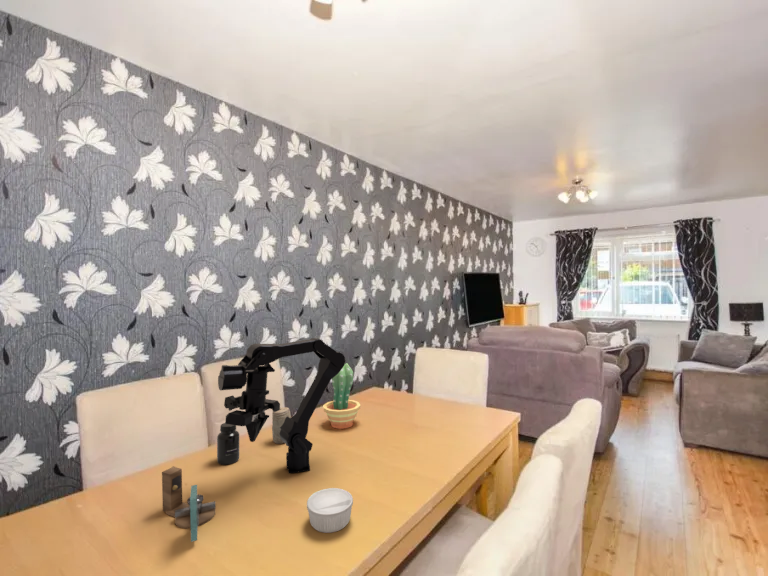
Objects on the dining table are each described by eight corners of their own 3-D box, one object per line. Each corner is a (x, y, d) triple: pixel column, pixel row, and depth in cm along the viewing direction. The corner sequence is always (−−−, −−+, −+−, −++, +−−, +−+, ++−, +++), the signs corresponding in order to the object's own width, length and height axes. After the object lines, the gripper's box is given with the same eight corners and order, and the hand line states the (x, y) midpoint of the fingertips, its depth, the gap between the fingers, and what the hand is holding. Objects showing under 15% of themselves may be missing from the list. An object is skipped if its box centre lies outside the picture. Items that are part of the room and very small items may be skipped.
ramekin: (333, 542, 86) (333, 519, 86) (297, 526, 92) (296, 504, 91) (362, 516, 95) (362, 495, 95) (327, 503, 101) (327, 483, 101)
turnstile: (215, 498, 102) (214, 463, 102) (216, 535, 87) (215, 494, 87) (176, 507, 98) (175, 470, 98) (170, 547, 83) (169, 504, 83)
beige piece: (268, 444, 139) (268, 411, 138) (279, 436, 146) (278, 405, 146) (284, 446, 137) (284, 412, 137) (294, 437, 144) (293, 406, 144)
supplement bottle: (231, 466, 122) (231, 428, 122) (212, 464, 124) (212, 427, 124) (243, 456, 129) (243, 421, 129) (225, 455, 130) (224, 420, 130)
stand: (183, 498, 104) (183, 461, 104) (223, 511, 98) (222, 472, 98) (151, 517, 96) (150, 477, 96) (192, 532, 90) (191, 489, 90)
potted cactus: (368, 422, 160) (367, 362, 160) (345, 434, 147) (344, 369, 147) (339, 415, 168) (338, 358, 168) (315, 427, 155) (314, 365, 155)
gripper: (251, 379, 124) (248, 428, 123) (210, 390, 106) (206, 447, 105) (282, 382, 121) (278, 433, 120) (245, 395, 103) (241, 454, 102)
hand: (252, 441), depth 112 cm, fingers closed
